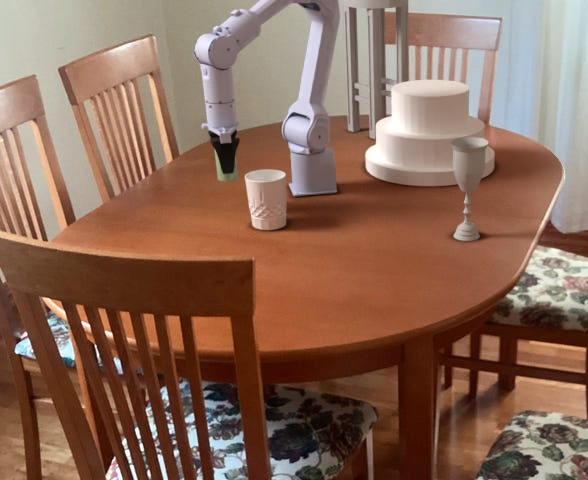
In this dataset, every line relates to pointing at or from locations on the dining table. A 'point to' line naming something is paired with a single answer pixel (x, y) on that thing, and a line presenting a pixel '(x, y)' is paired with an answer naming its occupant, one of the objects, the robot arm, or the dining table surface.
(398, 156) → the cake
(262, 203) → the white cup
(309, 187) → the robot arm
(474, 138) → the chalice
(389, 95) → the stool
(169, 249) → the dining table surface
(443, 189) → the dining table surface
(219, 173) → the salt shaker
